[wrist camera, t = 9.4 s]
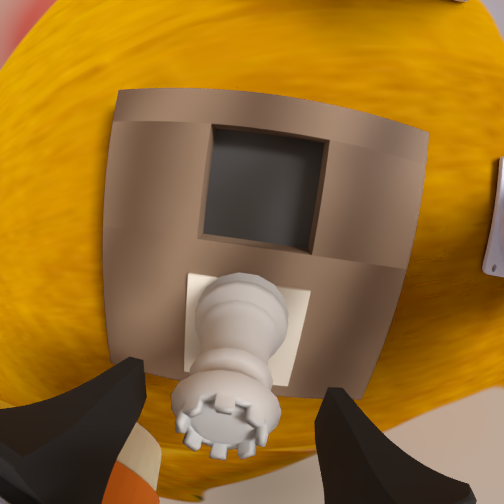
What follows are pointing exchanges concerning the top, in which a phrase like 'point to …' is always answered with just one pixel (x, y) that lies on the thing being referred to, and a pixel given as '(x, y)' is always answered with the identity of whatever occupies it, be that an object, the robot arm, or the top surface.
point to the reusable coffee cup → (135, 471)
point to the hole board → (258, 226)
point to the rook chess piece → (232, 367)
